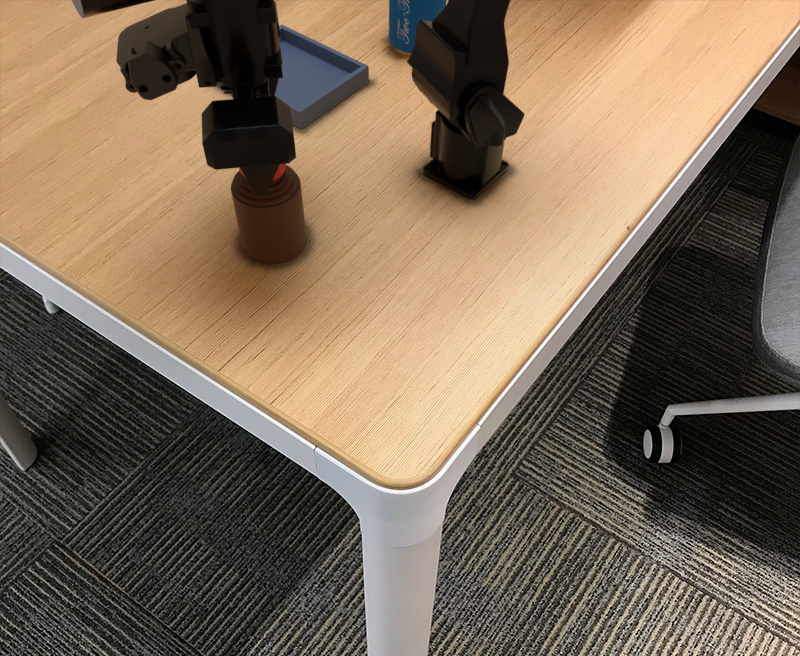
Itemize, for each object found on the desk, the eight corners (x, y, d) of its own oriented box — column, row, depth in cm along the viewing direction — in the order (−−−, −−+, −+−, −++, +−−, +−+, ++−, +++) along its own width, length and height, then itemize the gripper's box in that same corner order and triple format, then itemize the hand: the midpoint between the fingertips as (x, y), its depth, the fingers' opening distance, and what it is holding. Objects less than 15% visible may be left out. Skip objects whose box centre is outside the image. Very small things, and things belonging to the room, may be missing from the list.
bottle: (319, 237, 72) (311, 143, 63) (275, 273, 69) (260, 180, 61) (273, 210, 74) (259, 115, 65) (228, 244, 71) (207, 149, 63)
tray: (369, 82, 86) (368, 65, 85) (301, 129, 81) (299, 112, 80) (283, 40, 91) (281, 24, 89) (214, 82, 86) (211, 65, 84)
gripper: (112, -80, 56) (162, 109, 69) (96, 63, 46) (159, 255, 58) (265, -88, 57) (286, 99, 70) (284, 50, 47) (305, 241, 60)
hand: (258, 167), depth 64 cm, fingers open, 6 cm apart
